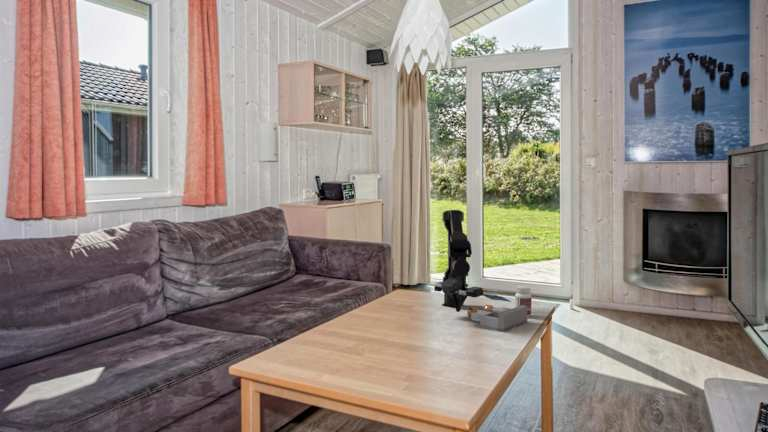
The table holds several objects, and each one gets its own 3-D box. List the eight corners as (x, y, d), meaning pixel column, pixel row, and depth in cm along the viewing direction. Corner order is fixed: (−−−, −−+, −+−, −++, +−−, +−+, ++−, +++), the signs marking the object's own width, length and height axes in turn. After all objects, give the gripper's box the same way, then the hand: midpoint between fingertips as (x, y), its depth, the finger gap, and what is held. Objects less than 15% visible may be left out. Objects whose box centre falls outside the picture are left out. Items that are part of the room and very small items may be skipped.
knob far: (482, 315, 211) (482, 305, 211) (489, 313, 215) (489, 303, 215) (501, 319, 206) (501, 309, 206) (508, 316, 210) (508, 306, 209)
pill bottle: (534, 315, 216) (534, 287, 215) (525, 318, 212) (526, 289, 211) (520, 313, 221) (521, 284, 220) (511, 315, 216) (512, 286, 215)
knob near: (466, 318, 207) (466, 308, 206) (473, 316, 210) (474, 306, 210) (485, 322, 201) (485, 312, 201) (492, 320, 205) (492, 309, 205)
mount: (474, 325, 202) (474, 309, 202) (498, 316, 215) (498, 301, 215) (503, 332, 194) (504, 315, 194) (527, 322, 207) (527, 306, 207)
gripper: (425, 270, 211) (425, 311, 212) (468, 277, 199) (467, 320, 200) (443, 267, 219) (442, 306, 220) (484, 272, 207) (483, 314, 208)
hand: (458, 311), depth 212 cm, fingers closed
